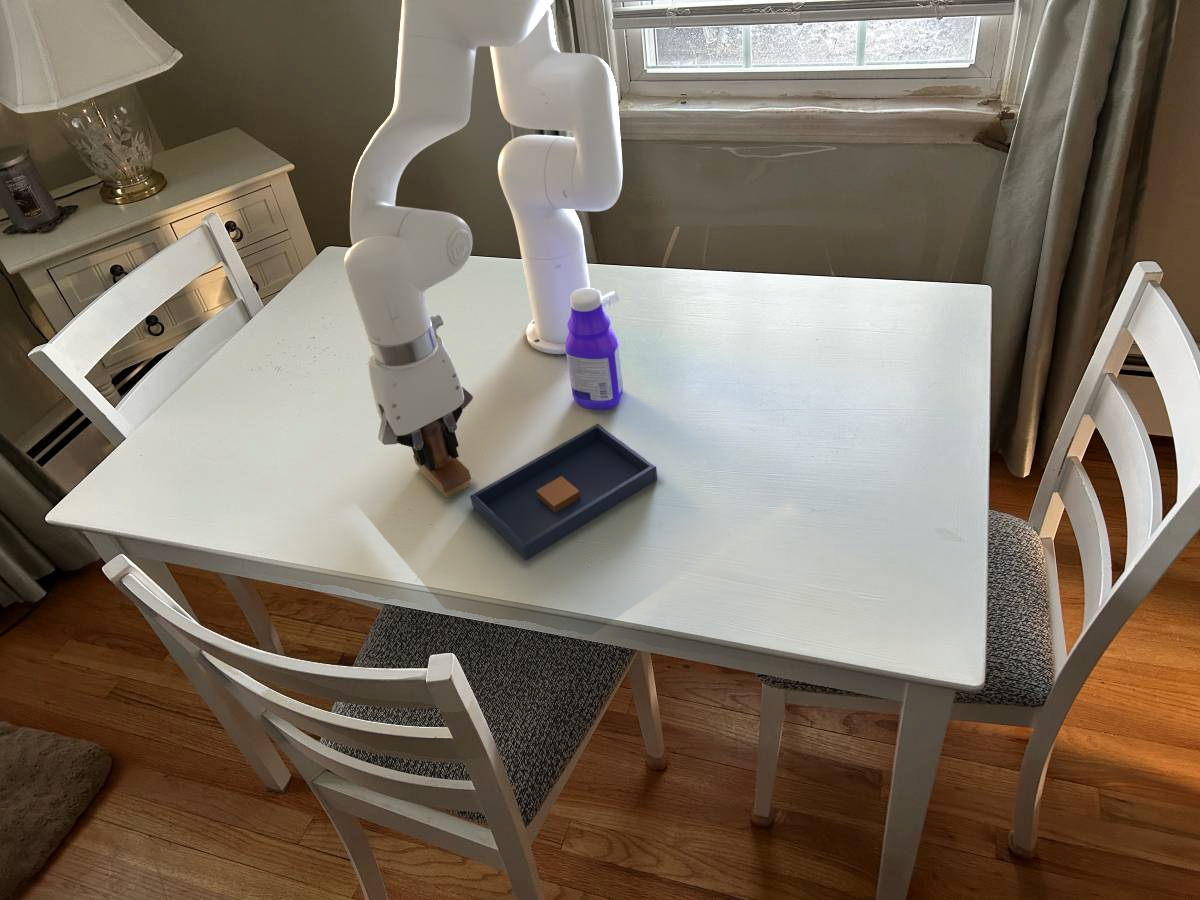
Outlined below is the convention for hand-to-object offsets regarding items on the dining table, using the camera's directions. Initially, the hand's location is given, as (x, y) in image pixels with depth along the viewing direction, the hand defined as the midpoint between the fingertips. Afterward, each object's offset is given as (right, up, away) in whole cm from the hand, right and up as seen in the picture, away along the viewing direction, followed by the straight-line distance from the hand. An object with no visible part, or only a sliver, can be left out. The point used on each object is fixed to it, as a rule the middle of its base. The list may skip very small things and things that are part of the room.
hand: (439, 458), depth 117 cm
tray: (+17, -5, -3) cm, 18 cm away
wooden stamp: (0, -3, +2) cm, 4 cm away
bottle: (+21, +8, +12) cm, 25 cm away
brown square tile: (+16, -5, -4) cm, 17 cm away
